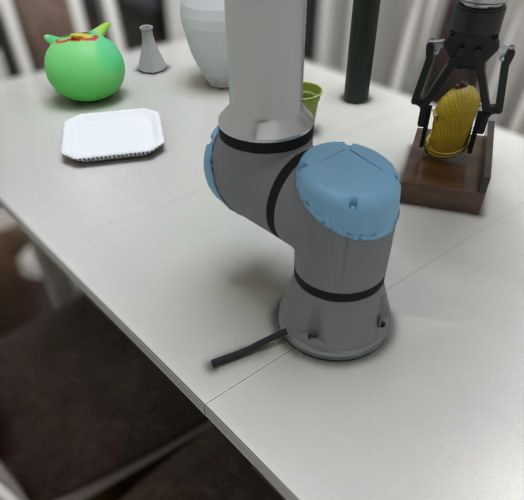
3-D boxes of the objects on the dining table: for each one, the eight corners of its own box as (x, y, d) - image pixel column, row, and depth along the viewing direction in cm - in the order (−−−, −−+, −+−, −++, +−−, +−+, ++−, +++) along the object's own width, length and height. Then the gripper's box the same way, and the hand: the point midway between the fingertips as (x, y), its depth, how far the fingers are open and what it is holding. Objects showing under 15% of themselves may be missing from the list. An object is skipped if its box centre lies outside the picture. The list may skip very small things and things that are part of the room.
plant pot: (272, 138, 112) (272, 96, 106) (282, 120, 118) (283, 79, 112) (315, 143, 110) (317, 101, 104) (324, 124, 117) (326, 83, 110)
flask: (153, 75, 137) (147, 32, 130) (133, 70, 140) (125, 28, 133) (171, 67, 141) (166, 24, 134) (151, 62, 144) (144, 20, 137)
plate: (62, 170, 104) (59, 159, 103) (67, 125, 118) (64, 115, 116) (167, 158, 107) (165, 147, 105) (159, 115, 121) (158, 106, 119)
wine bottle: (338, 98, 126) (352, -59, 104) (354, 91, 128) (371, -63, 107) (357, 105, 123) (375, -55, 101) (372, 98, 126) (394, -59, 104)
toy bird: (53, 115, 121) (32, 45, 111) (55, 88, 133) (36, 21, 122) (132, 107, 124) (119, 37, 113) (127, 80, 135) (115, 15, 125)
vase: (246, 99, 126) (242, -27, 107) (177, 92, 129) (161, -32, 111) (266, 72, 137) (266, -46, 119) (202, 66, 141) (192, -50, 123)
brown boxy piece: (478, 214, 92) (491, 177, 87) (397, 201, 95) (404, 165, 90) (484, 155, 106) (495, 121, 101) (413, 146, 109) (420, 112, 104)
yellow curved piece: (466, 174, 93) (492, 85, 82) (419, 169, 95) (438, 80, 84) (466, 144, 101) (490, 59, 90) (423, 140, 102) (441, 55, 91)
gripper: (409, 3, 79) (385, 148, 96) (556, 13, 75) (504, 164, 92) (415, -10, 84) (392, 130, 101) (554, -1, 80) (505, 145, 96)
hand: (445, 146), depth 96 cm, fingers closed on yellow curved piece, 8 cm apart
